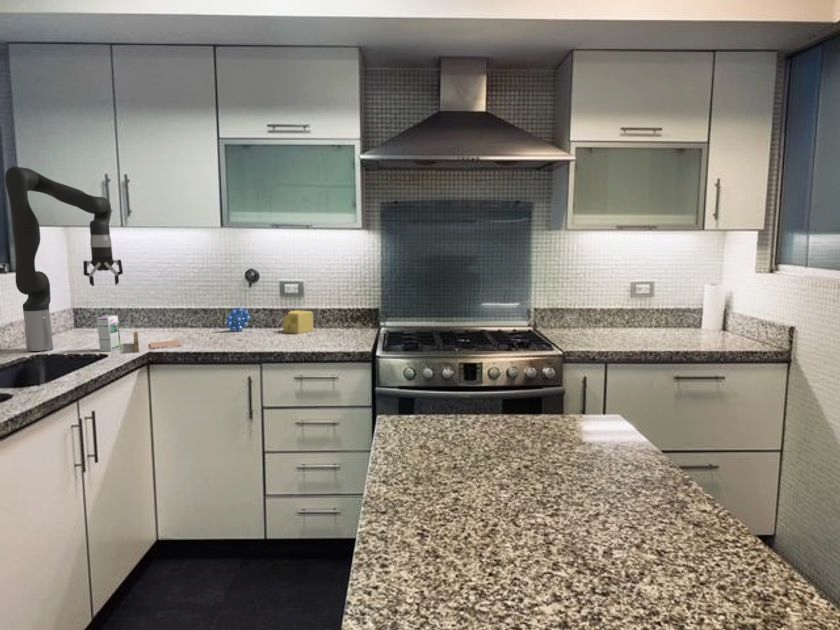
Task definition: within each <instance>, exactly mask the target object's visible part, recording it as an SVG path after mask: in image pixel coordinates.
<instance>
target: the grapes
mask: <svg viewBox="0 0 840 630" xmlns="http://www.w3.org/2000/svg"><path fill="white" fill-rule="evenodd" d="M225 319H226V321H227V322H226V323H225V326H226V328H229V331H230V332H235V331H237V332H241V331H242V330H243V328H244V329H245V328H247V327H248V326H249V323H248V322H249V321H250V320H251V316H250V315H249V310H248V309H244V308H243V307H237V309H233V308H232V310H231V311H230V314H228V315H227V316H226V318H225Z"/></svg>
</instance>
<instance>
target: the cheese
mask: <svg viewBox="0 0 840 630" xmlns="http://www.w3.org/2000/svg"><path fill="white" fill-rule="evenodd" d="M283 323H284V324H283V333H287V334H288V333H289V334H295V335H301V334H304V333H309V332H313V331H314V313H313V311H308V310H301V309H300V310H299V309H296V310H292V311H291V310H290V311H289V312H287V314H286V316H284V317H283Z"/></svg>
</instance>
